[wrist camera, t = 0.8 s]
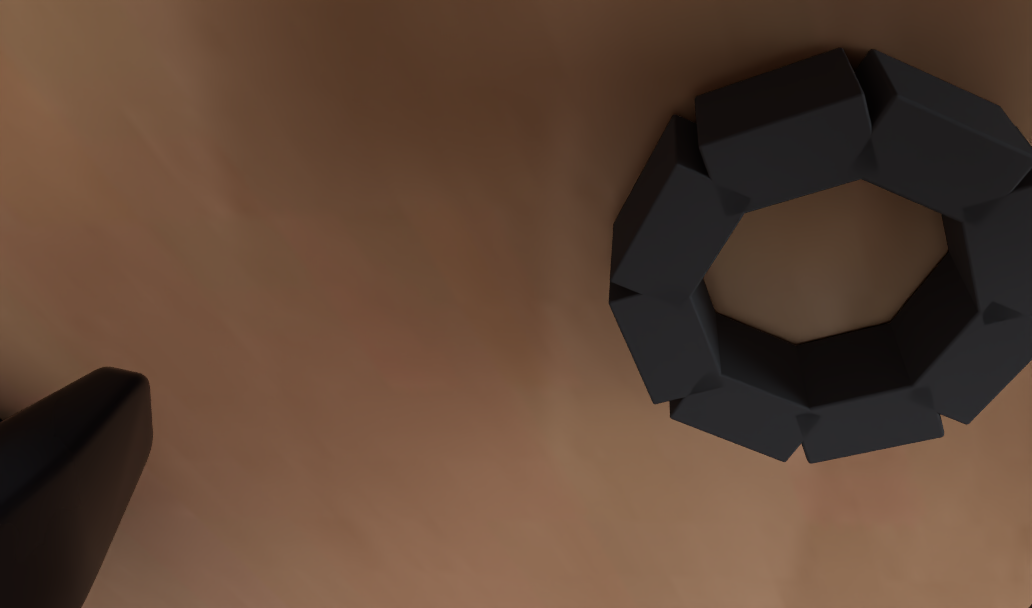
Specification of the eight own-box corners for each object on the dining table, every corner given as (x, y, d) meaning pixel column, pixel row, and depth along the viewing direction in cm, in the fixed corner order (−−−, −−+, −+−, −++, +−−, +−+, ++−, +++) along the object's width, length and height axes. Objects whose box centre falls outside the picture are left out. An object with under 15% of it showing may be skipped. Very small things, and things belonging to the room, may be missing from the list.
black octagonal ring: (996, -8, 18) (1039, 36, 16) (1048, 341, 23) (1086, 409, 21) (566, 139, 21) (558, 191, 19) (687, 423, 26) (690, 489, 24)
